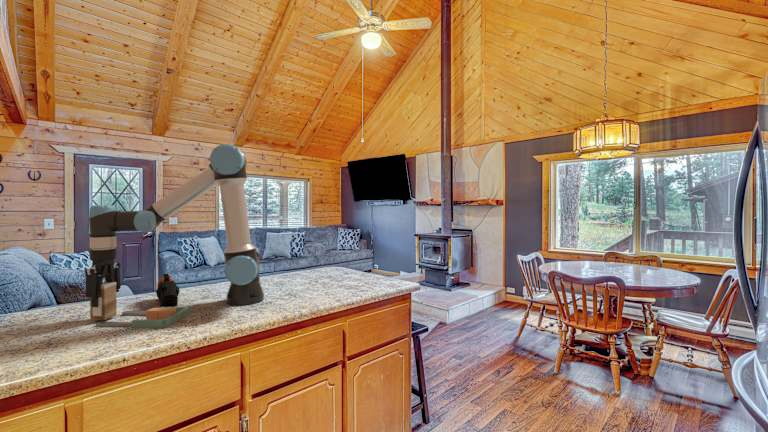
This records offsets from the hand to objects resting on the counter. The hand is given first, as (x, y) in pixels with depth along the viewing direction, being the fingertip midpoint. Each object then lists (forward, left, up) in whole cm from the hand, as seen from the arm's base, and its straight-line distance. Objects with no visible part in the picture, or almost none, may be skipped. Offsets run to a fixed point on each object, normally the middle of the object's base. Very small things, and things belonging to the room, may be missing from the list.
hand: (104, 312), depth 127 cm
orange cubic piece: (-18, 0, -3) cm, 18 cm away
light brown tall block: (0, 0, -2) cm, 2 cm away
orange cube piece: (-23, 0, -3) cm, 23 cm away
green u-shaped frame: (-21, 0, -3) cm, 21 cm away
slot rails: (-9, 0, -3) cm, 9 cm away
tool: (-11, -20, -3) cm, 23 cm away
